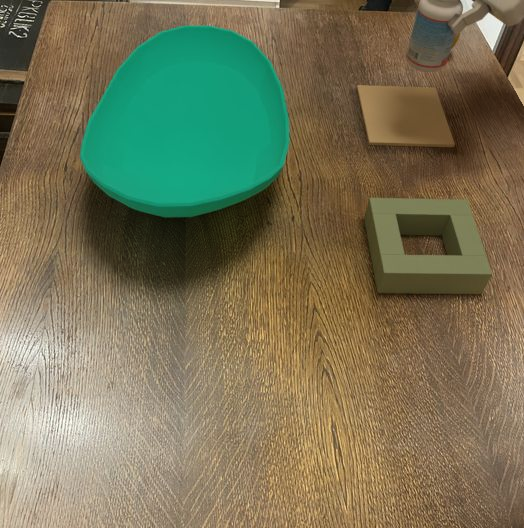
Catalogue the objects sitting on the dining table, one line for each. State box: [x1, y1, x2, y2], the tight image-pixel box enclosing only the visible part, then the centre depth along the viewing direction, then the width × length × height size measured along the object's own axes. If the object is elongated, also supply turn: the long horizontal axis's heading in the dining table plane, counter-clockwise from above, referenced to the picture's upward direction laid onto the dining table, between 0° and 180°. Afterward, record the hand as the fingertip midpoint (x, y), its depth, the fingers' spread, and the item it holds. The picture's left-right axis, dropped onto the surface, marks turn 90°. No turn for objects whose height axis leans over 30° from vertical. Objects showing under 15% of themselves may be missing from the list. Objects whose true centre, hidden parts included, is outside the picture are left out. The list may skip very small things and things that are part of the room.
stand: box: [363, 197, 493, 295], centre depth 82 cm, size 14×14×4 cm
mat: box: [356, 84, 456, 148], centre depth 102 cm, size 14×16×1 cm
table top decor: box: [79, 24, 291, 218], centre depth 84 cm, size 40×28×13 cm
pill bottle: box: [405, 0, 464, 73], centre depth 85 cm, size 6×6×11 cm
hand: (434, 17), depth 84 cm, fingers closed on pill bottle, 6 cm apart
